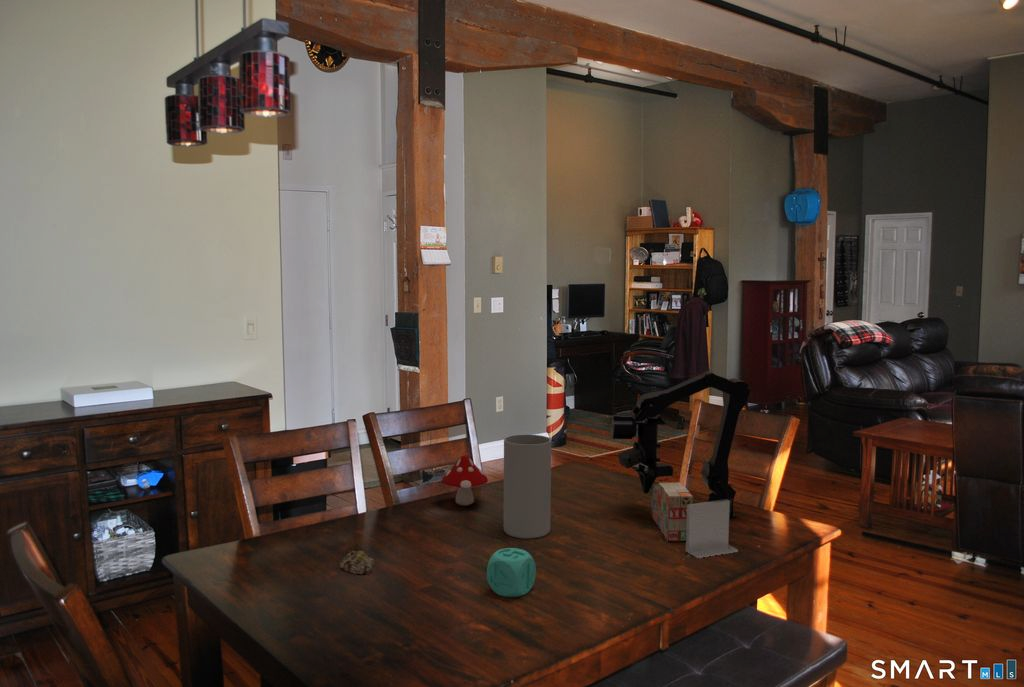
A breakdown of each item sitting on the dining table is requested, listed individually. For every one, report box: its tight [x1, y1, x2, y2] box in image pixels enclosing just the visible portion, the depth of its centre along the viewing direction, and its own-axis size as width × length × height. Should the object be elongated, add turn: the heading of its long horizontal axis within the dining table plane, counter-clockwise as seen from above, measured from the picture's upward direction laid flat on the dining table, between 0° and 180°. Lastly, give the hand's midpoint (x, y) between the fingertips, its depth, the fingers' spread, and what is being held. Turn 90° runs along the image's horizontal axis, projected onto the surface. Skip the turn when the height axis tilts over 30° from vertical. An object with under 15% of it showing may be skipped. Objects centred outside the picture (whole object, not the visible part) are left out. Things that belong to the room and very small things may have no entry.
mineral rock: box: [339, 550, 376, 575], centre depth 179 cm, size 11×4×8 cm
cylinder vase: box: [503, 434, 552, 540], centre depth 203 cm, size 12×12×25 cm
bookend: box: [685, 499, 739, 559], centre depth 190 cm, size 12×5×12 cm, turn 112°
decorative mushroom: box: [441, 454, 489, 507], centre depth 226 cm, size 14×14×15 cm
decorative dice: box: [486, 547, 537, 598], centre depth 167 cm, size 8×8×8 cm
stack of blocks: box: [650, 482, 694, 542], centre depth 207 cm, size 21×6×12 cm, turn 2°
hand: (645, 493), depth 218 cm, fingers closed
